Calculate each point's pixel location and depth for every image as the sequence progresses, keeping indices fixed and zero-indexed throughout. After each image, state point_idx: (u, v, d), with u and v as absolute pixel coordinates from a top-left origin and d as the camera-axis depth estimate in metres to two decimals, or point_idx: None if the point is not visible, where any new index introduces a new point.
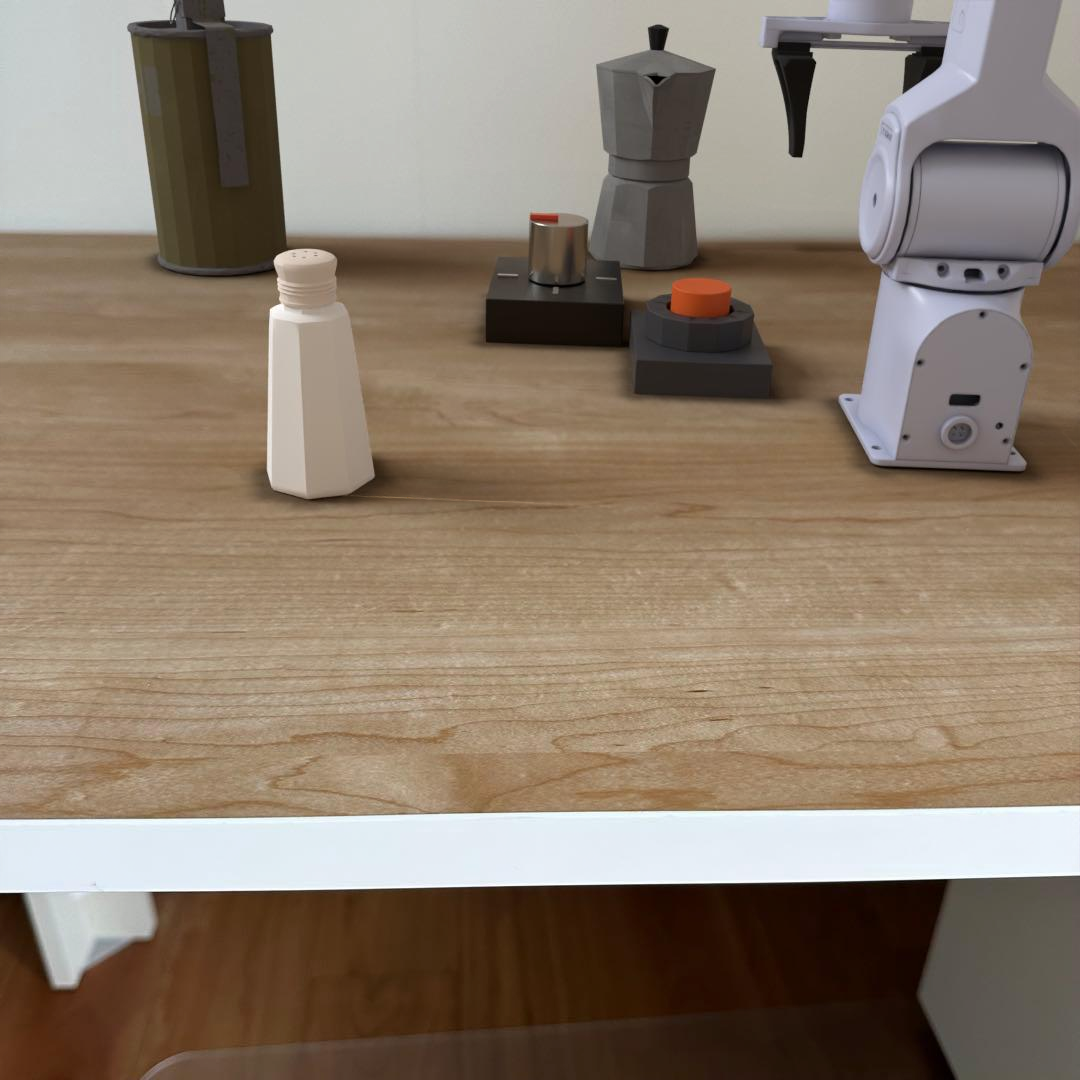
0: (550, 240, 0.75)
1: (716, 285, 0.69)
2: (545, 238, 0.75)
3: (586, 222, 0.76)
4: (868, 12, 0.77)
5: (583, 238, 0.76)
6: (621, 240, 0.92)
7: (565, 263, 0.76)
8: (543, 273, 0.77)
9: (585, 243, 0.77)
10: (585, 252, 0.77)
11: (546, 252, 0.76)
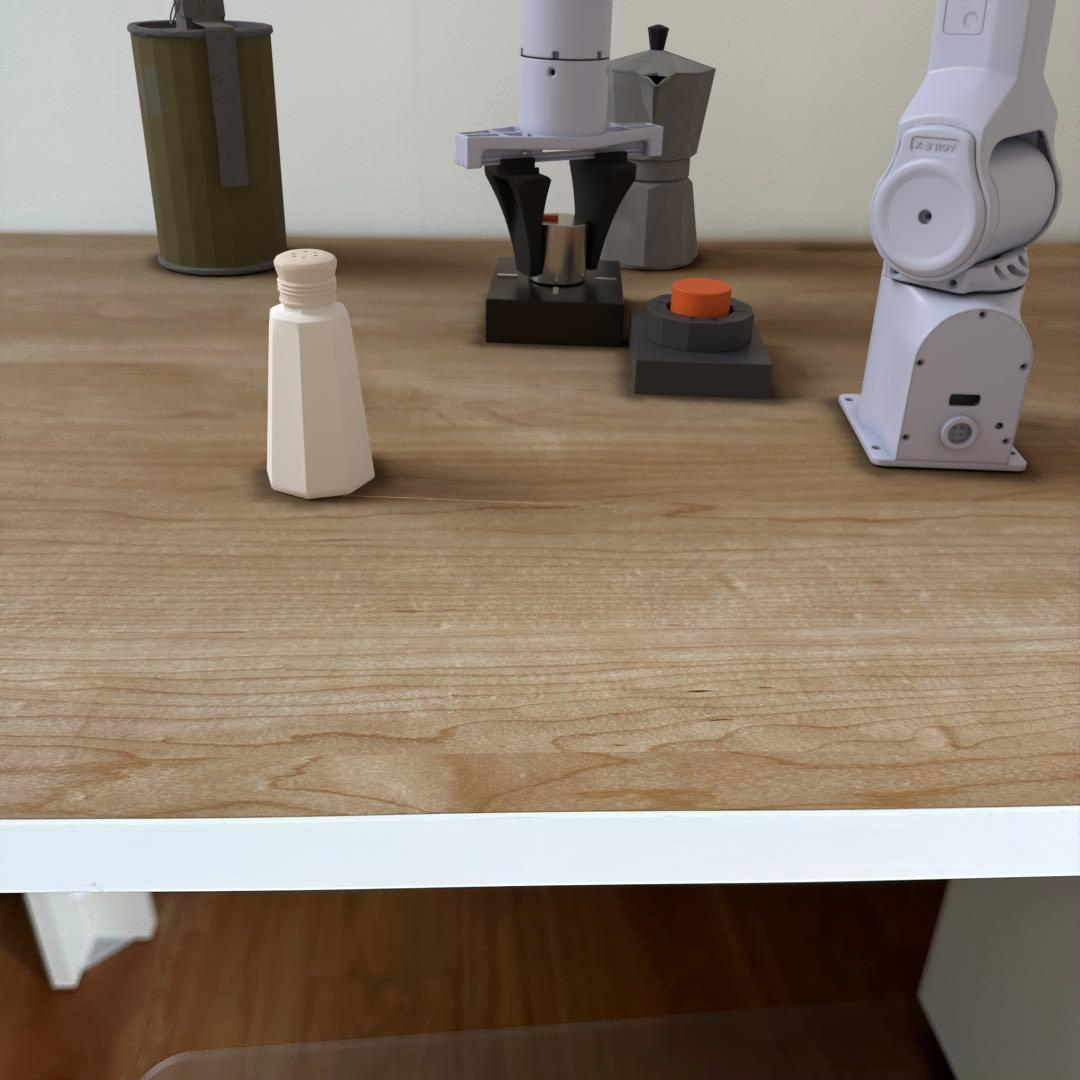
0: (550, 240, 0.75)
1: (716, 285, 0.69)
2: (545, 238, 0.75)
3: (586, 222, 0.76)
4: (574, 125, 0.71)
5: (583, 238, 0.76)
6: (621, 240, 0.92)
7: (565, 263, 0.76)
8: (543, 273, 0.77)
9: (585, 243, 0.77)
10: (585, 252, 0.77)
11: (546, 252, 0.76)
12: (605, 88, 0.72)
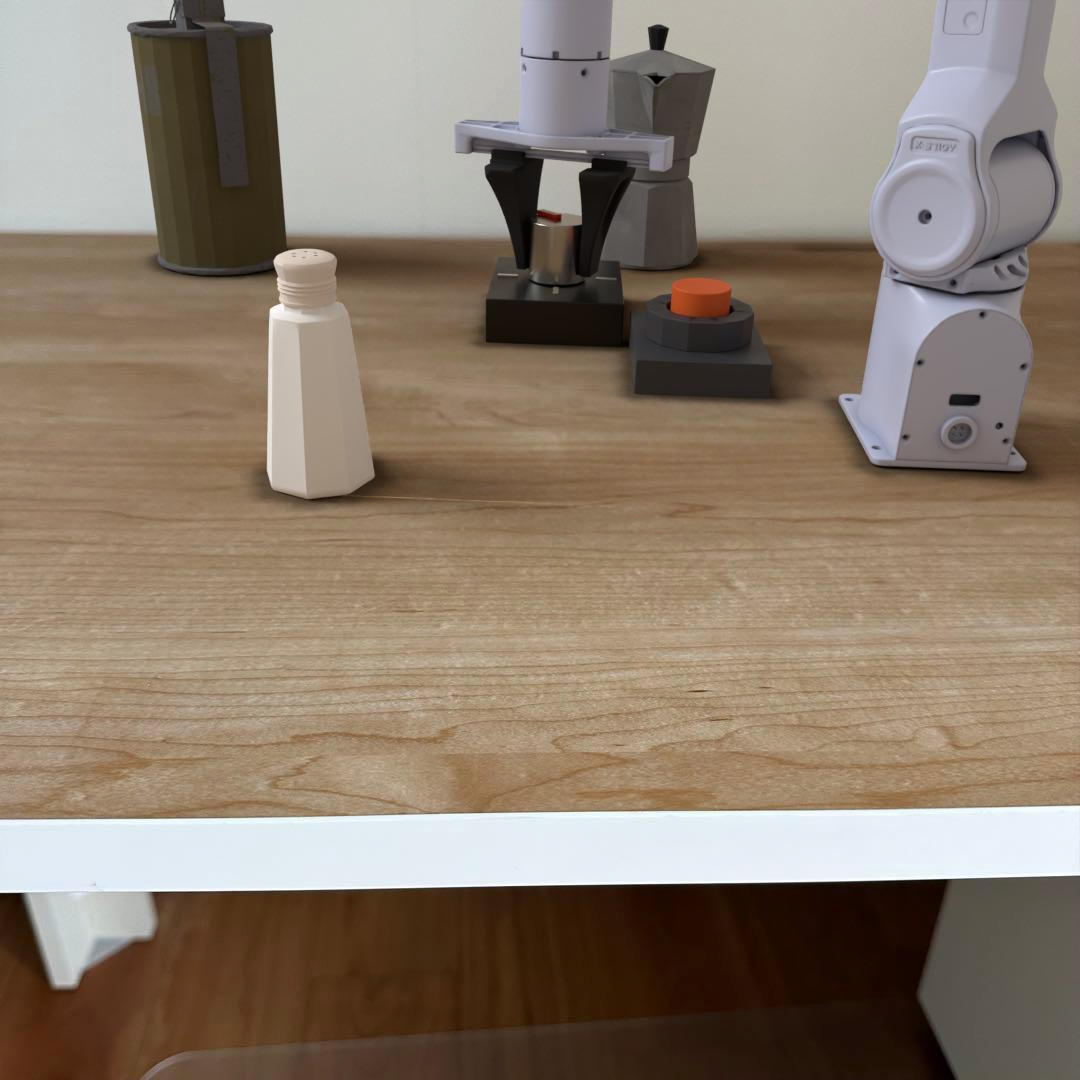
0: (532, 236, 0.76)
1: (716, 285, 0.69)
2: (530, 233, 0.77)
3: (571, 226, 0.75)
4: (538, 123, 0.71)
5: (564, 241, 0.75)
6: (621, 240, 0.92)
7: (542, 261, 0.76)
8: (529, 268, 0.78)
9: (568, 246, 0.76)
10: (569, 256, 0.76)
11: (530, 247, 0.77)
12: (579, 90, 0.70)
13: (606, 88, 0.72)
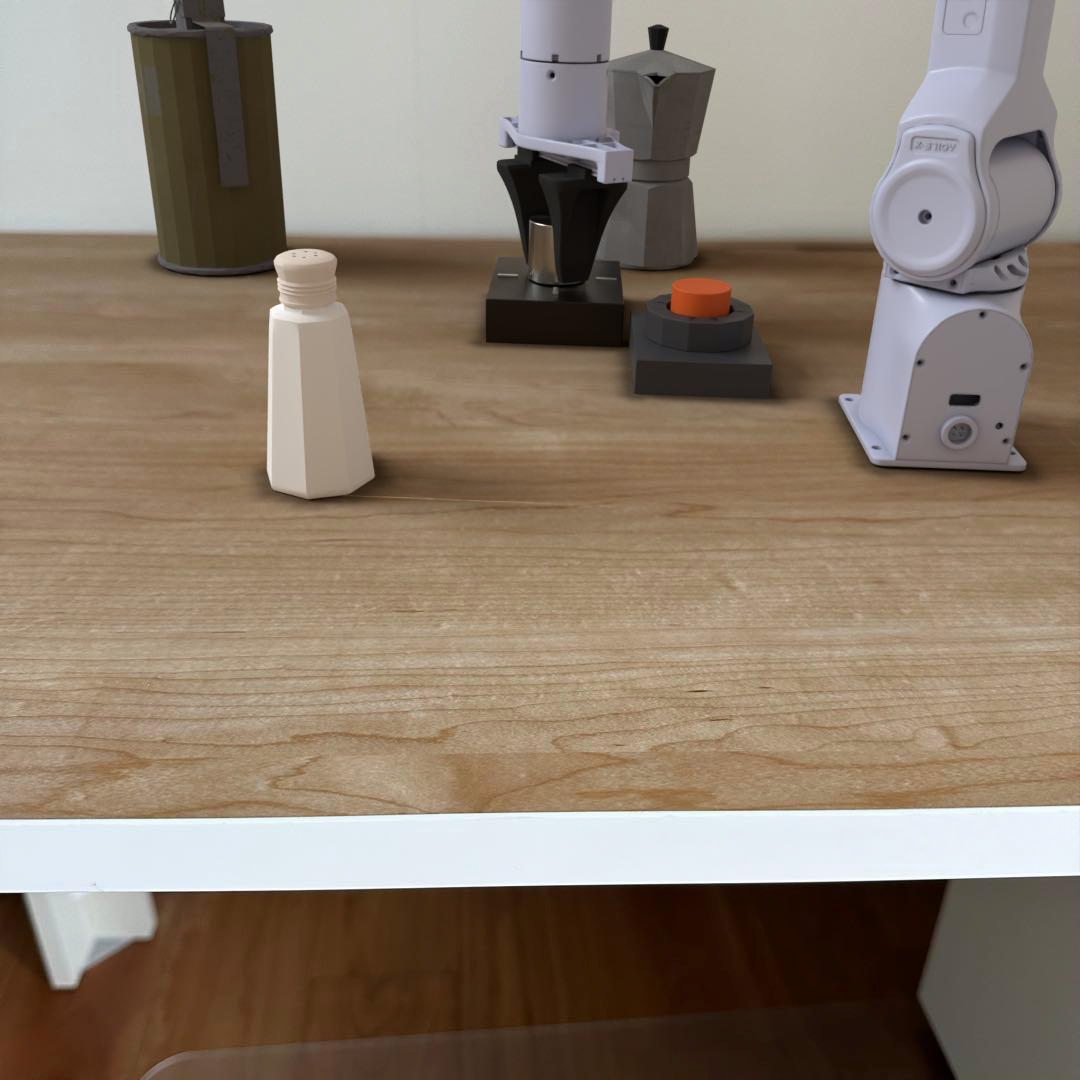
0: None
1: (716, 285, 0.69)
2: None
3: (550, 225, 0.75)
4: (519, 122, 0.73)
5: (542, 239, 0.76)
6: (621, 240, 0.92)
7: (529, 256, 0.77)
8: None
9: (546, 245, 0.76)
10: (547, 255, 0.76)
11: None
12: (546, 92, 0.70)
13: (585, 93, 0.71)
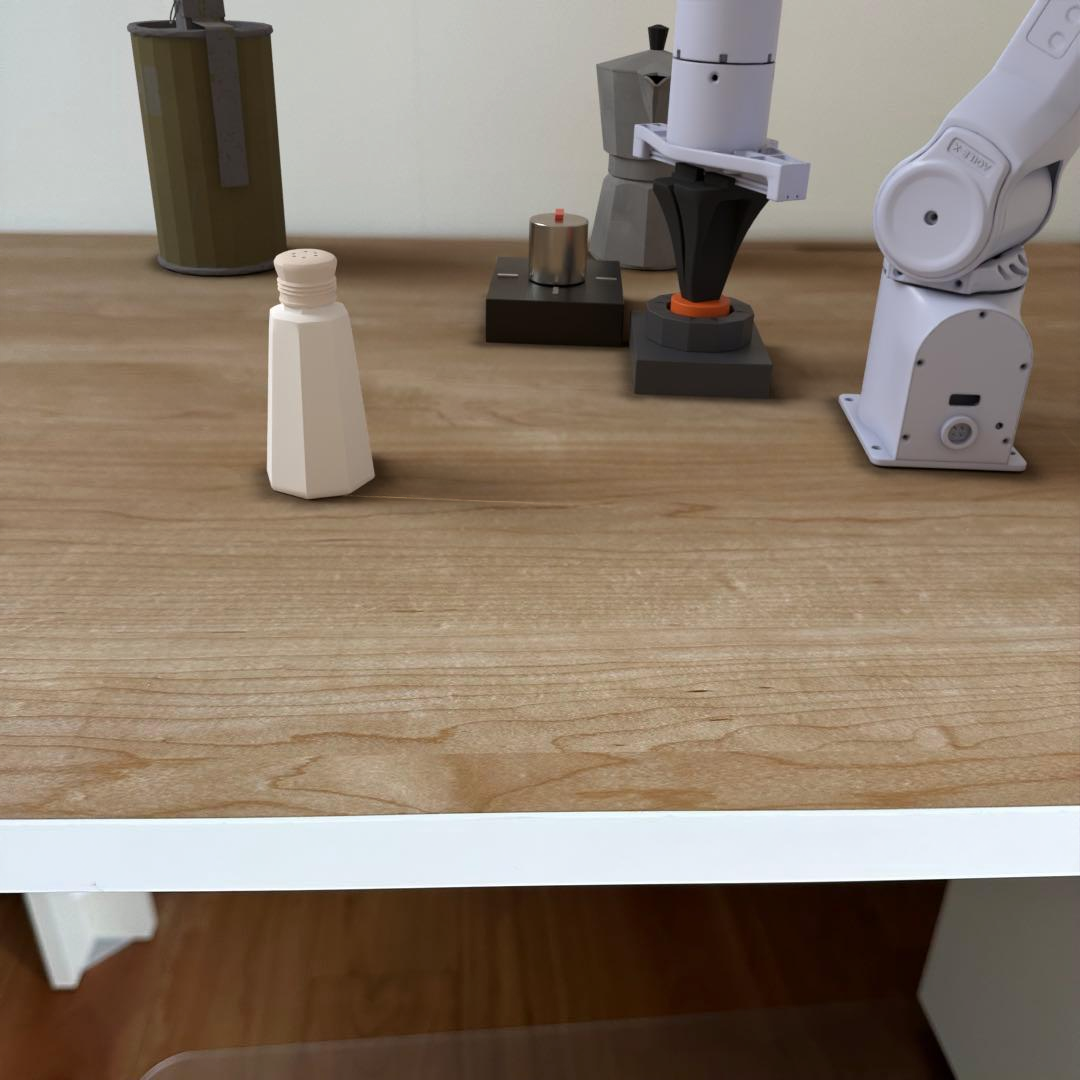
0: None
1: None
2: None
3: (550, 225, 0.75)
4: (670, 130, 0.64)
5: (542, 239, 0.76)
6: (621, 240, 0.92)
7: (529, 257, 0.77)
8: None
9: (546, 245, 0.76)
10: (547, 255, 0.76)
11: None
12: (706, 97, 0.62)
13: (751, 99, 0.62)
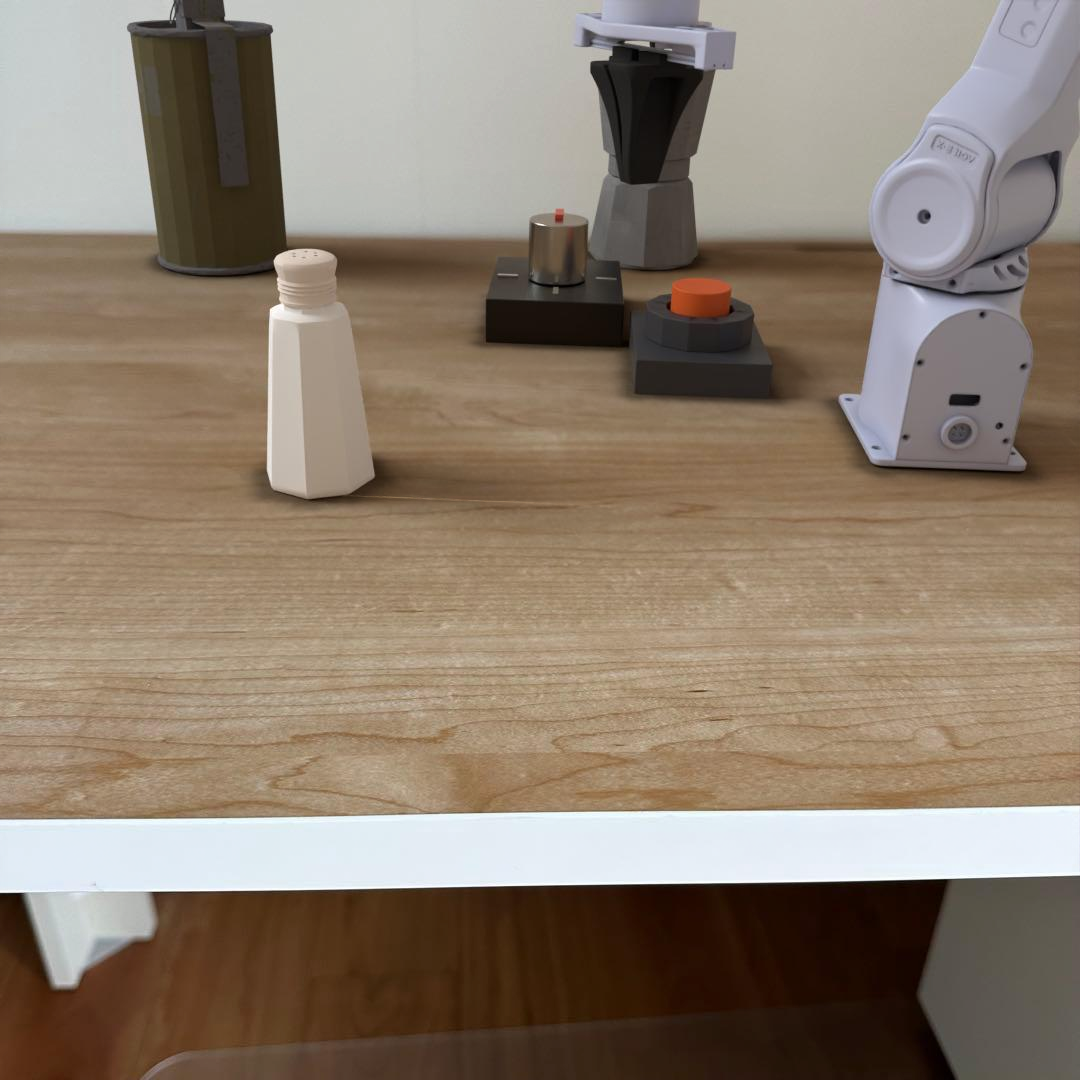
0: None
1: (716, 285, 0.69)
2: None
3: (550, 225, 0.75)
4: (604, 9, 0.66)
5: (542, 239, 0.76)
6: (621, 240, 0.92)
7: (529, 257, 0.77)
8: None
9: (546, 245, 0.76)
10: (547, 255, 0.76)
11: None
12: None
13: None
